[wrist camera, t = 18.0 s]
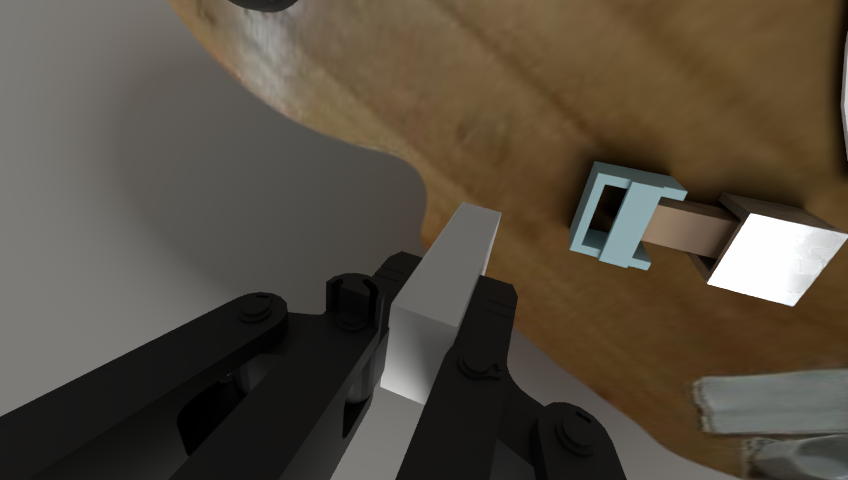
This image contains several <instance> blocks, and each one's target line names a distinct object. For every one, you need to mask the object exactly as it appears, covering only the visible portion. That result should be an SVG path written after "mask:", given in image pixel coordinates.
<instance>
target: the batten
mask: <svg viewBox="0 0 848 480" xmlns="http://www.w3.org/2000/svg"><path fill="white" fill-rule="evenodd" d="M740 222H741V219H740V218H738V217H737V216H736V215H735V214H734V213H733V212H731V211H730V210H728V209H724V208H719V207H714V206H710V205H705V204H701V203H696V202H692V201H687V200H683V201H681V200H676V199H672V198H667V197H662V196H661V198H660V200H659V202H658V204H657V206H656V208H655V210H654V212H653V215H652V217H651V219H650V221H649V223H648V225H647V227H646V229H645V231H644V233H643V235H642V238H641V240H643V241H647V242H651V243H655V244H659V245H663V246H667V247H671V248H675V249H679V250H683V251H687V252H691V253H695V254H699V255H702V256H706V257H710V258H714V259H718V258H719V256H720V255H721V253H722V251H723V250H724V248H725V246H726V245H727V243H728V242H729V240H730V238H731V237H732V235H733V233H734V232H735V230H736V229H737V227H738V225H739V224H740Z"/></svg>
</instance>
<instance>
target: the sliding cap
mask: <svg viewBox="0 0 848 480" xmlns="http://www.w3.org/2000/svg"><path fill="white" fill-rule="evenodd" d="M605 184H607V185H611V186H616V187H621V188H625V189H627V192H626V194H625V196H624V199H623V201H622V203H621V206H620V208H619V210H618V213H617V215H616V217H615V220H614V222H613V225H612V227H611V229H610V232H609V233H606V232H602V231H598V230H594V229H590V228H588V227H589V224H590V221H591V219H592V216H593V214H594V211H595V209H596V206H597V203H598V201H599V198H600V196H601V193H602V191H603V188H604V186H605ZM686 194H687V191H686V190H685V189H684V188H683V187H682V186H681V185H680V184H679V183H678V182H677V181H676V180H675V179H674V178H673V177H671V176H666V175H661V174H656V173H651V172H646V171H641V170H636V169H632V168H627V167H622V166H617V165H612V164H607V163H602V162H597V161H594V164H593V167H592V169H591V172H590V175H589V178H588V180H587V183H586V186H585V189H584V191H583V194H582V197H581V200H580V202H579V205H578V208H577V211H576V213H575V216H574V219H573V222H572V224H571V227H570V230H569V241H570V250H572V251H576V252H580V253H584V254H587V255H591V256H595V257H599V261H603V262H607V263H611V264H614V265H618V266H622V267H626V268H627V267H628V265H629V266H633V267H636V268H640V269H644V270H648V268H649V266H650V264H651V262H650V259H649V257H648V255H647V253H646V250H645V248H644V246H643V244H642V242H641V241H640V240H641V238H642V235H643V233H644V231H645V229H646V227H647V225H648V223H649V221H650V219H651V217H652V215H653V212H654V210H655V208H656V206H657V204H658V202H659V200H660V198H661V196H662V197H667V198H672V199H676V200H681V201H683V200H684V198H685V196H686Z"/></svg>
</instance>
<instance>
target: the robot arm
mask: <svg viewBox="0 0 848 480" xmlns="http://www.w3.org/2000/svg"><path fill="white" fill-rule="evenodd" d="M229 1H230V2H232V3H234V4H236V5H238V6H240V7H243V8H246V9H250V10H256V11H261V12H278V11H281V10H284V9H286V8H288V7H290V6H291V5H293V4H294V3H295V2H296V1H298V0H229ZM501 214H502V213H501V212H497V211H494V210H490V209H486V208H483V207H479V206H475V205H472V204H468V203H464V202H462V203H461V205H460V206H459V207H458V209H457V210H456V212H455V213H454V215H453V216H452V218H451V219H450V220H449V222H448V223H447V225H446V226H445V228H444V229H443V230H442V232H441V233H440V235H439V236H438V238H437V239H436V240H435V242H434V243H433V245H432V246H431V248H430V249H429V250H428V252H427V253H426V255H425V256H424V258H422V257H419V256H415V255H412V254H409V253H406V252H403V251H401V252H399V253H397V254H395V255H392V256H390V257H389V258H388V259H387V260H386V261H385V262H384V263H383V264H382V266H381V268H379V269H378V270H377V271H376V272H375V274H374V275H373V276H372V277H370V276H368V275H363V274H358V273H345V274H342V275H338V276H335V277H333V278H331V279H330V280H328V281H327V282H326V311H325V312H324V314H321V315H311V314H300V313H291V312H288V310H287V303H286V302H285V301H284V300H283V299H282V298H281V297H280V296H277V295H275V294H273V293H263V292H258V293H251V294H247V295H244V296H241V297H238V298H236V299H234V300H232V301H230V302H228V303H226V304H224V305H222V306H220V307H218V308H216V309H214V310H212V311H210V312H208V313H206V314H204V315H202V316H200V317H198V318H196V319H194V320H192V321H190V322H188V323H186V324H184V325H182V326H180V327H178V328H176V329H174V330H172V331H170V332H168V333H166V334H164V335H162V336H160V337H158V338H157V339H155V340H152V341H150V342H148V343H146V344H144V345H142V346H140V347H138V348H136V349H134V350H132V351H130V352H128V353H126V354H124V355H123V356H121V357H118V358H117V359H114V360H112V361H110V362H109V363H106V364H104V365H103V366H101V367H98V368H96V369H94V370H92V371H91V372H89V373H87V374H85V375H83V376H81V377H79V378H77V379H75V380H73V381H71V382H69V383H67V384H65V385H63V386H61V387H59V388H57V389H55V390H53V391H51V392H49V393H47V394H45V395H43V396H41V397H39V398H37V399H35V400H33V401H31V402H29V403H27V404H25V405H23V406H21V407H19V408H17V409H15V410H13V411H11V412H9V413H7V414H5V415H3V416H1V417H0V480H330V478H331V476H332V474H333V473H334V471H335V469H336V467H337V465H338V464H339V462H340V460H341V458H342V456H343V454H344V453H345V451H346V449H347V447H348V445H349V443H350V442H351V440H352V438H353V436H354V434H355V433H356V431H357V429H358V427H359V425H360V423H361V422H362V420H363V418H364V416H365V414H366V413H367V411H368V409H369V407H370V405H371V402H372V398H373V391H374V387H375V386H376V384H377V382H378V380H379V379H380V377H381V375H382V379H381V386H380V387H382V388H385V389H387V390H389V391H392V392H395V393H397V394H399V395H402V396H404V397H407V398H409V399H411V400H414V401H416V402H419V403H421V404H423V405H425V406H424V409H423V412H422V414H421V417H420V419H419V422H418V424H417V427H416V429H415V432H414V434H413V437H412V439H411V442H410V444H409V447H408V449H407V452H406V454H405V457H404V459H403V462H402V464H401V467H400V470H399V472H398V474H397V477H396V479H395V480H627V479H626V477H625V474H624V471H623V469H622V466H621V464H620V461H619V458H618V455H617V453H616V450H615V447H614V445H613V443H612V440H611V439H610V437H609V435H608V433H607V431H606V430H605V428H604V427H603V426H602V425H601V424H600V423H599V422H598V421H597V419H595V417H594V416H592V415H591V414H589V413H588V412H586V411H585V410H583V409H582V408H580V407H578V406H575V405H572V404H569V403H566V402H553V403H551V404H549V405H547V406H545V407H544V406H543V405H541V404H540V403H539V402H537V401H536V400H534V399H533V398H531V397H530V396H528V395H527V394H526V393H525V392H524V391H522V390H521V389H520V388H519V387H518V385H517V384H516V383H515V382H514V381H513V379H512V377H511V375H510V374H509V371H508V367H507V355H508V350H509V344H510V338H511V332H512V327H513V322H514V321H513V320H514V316H515V310H516V305H517V299H518V296H517V294H516V291H515V289H514V287H513V285H512V284H508V283H505V282H502V281H499V280H496V279H492V278H489V277H486V276H484V274H485V270H486V267H487V263H488V260H489V256H490V252H491V249H492V245H493V242H494V238H495V235H496V231H497V228H498V224H499V221H500V217H501ZM230 373H231V374H230ZM227 375H228V376H227Z"/></svg>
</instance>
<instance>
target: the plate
mask: <svg viewBox="0 0 848 480" xmlns="http://www.w3.org/2000/svg"><path fill="white" fill-rule="evenodd" d="M841 112H842V120H843V127H844V135H845V143H846V151H847V159H848V33H847V38H846V44H845V54H844V68H843V82H842V96H841Z"/></svg>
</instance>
